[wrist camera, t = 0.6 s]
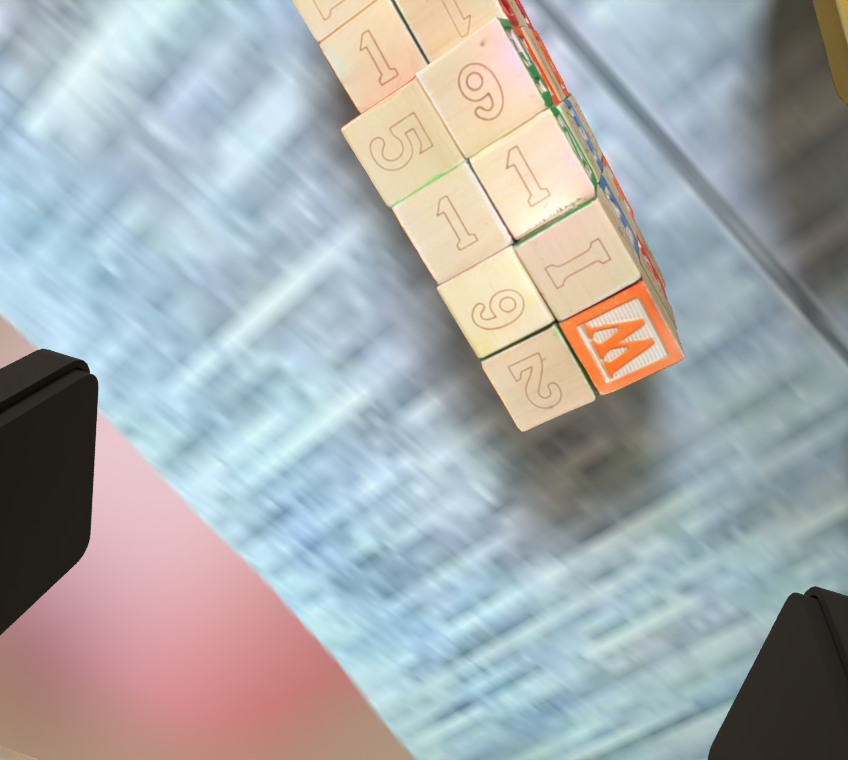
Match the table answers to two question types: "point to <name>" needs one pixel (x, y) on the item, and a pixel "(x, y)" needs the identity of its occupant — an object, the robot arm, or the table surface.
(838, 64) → the flower pot
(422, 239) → the stack of blocks
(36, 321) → the table surface
